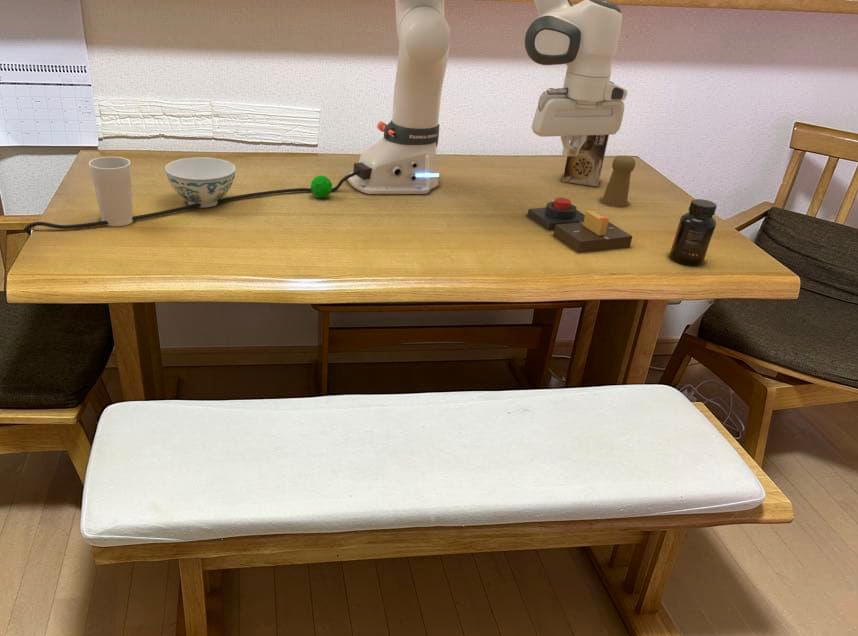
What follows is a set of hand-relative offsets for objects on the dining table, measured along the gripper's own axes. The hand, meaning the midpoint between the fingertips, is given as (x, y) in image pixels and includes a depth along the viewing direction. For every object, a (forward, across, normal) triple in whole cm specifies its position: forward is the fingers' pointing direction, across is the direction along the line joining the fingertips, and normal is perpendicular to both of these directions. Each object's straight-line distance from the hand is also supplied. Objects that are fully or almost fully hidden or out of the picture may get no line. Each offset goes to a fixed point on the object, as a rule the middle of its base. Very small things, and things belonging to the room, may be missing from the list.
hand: (569, 155), depth 162 cm
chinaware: (+16, -75, +27) cm, 81 cm away
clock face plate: (+14, +1, -13) cm, 19 cm away
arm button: (+11, 0, -1) cm, 11 cm away
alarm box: (+14, 0, -1) cm, 14 cm away
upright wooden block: (+12, +1, -13) cm, 18 cm away
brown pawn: (+14, +21, +7) cm, 26 cm away
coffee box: (+14, +22, +23) cm, 35 cm away
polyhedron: (+16, -48, +25) cm, 56 cm away
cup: (+16, -94, +20) cm, 97 cm away
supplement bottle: (+14, +15, -26) cm, 33 cm away
